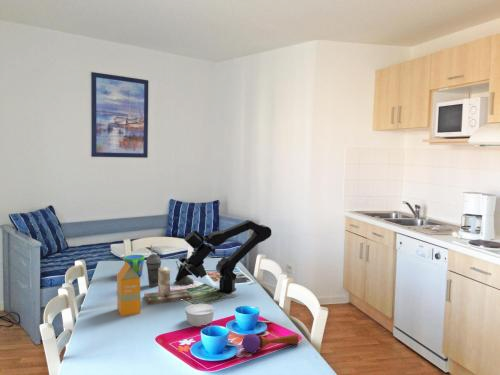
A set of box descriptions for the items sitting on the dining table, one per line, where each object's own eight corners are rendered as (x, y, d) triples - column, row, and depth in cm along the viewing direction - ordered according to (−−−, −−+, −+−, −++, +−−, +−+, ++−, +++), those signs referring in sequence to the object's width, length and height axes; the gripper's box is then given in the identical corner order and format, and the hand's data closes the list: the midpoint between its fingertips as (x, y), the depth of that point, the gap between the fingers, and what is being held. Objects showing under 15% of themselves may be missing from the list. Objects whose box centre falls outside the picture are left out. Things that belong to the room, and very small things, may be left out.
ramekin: (202, 330, 157) (202, 316, 157) (179, 323, 163) (179, 310, 163) (220, 320, 167) (220, 307, 166) (197, 314, 173) (197, 301, 172)
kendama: (302, 336, 144) (247, 341, 137) (298, 351, 146) (244, 357, 138) (294, 326, 150) (241, 330, 142) (291, 341, 151) (238, 346, 143)
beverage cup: (157, 288, 204) (157, 247, 202) (143, 287, 206) (143, 246, 204) (163, 283, 211) (163, 244, 210) (150, 282, 213) (149, 243, 211)
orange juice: (121, 316, 169) (120, 267, 168) (117, 309, 177) (116, 261, 176) (140, 313, 173) (140, 264, 171) (136, 306, 181) (135, 259, 179)
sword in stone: (193, 280, 218) (193, 257, 217) (194, 285, 211) (194, 262, 209) (173, 281, 216) (173, 258, 215) (174, 286, 209) (174, 263, 207)
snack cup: (125, 272, 231) (124, 253, 230) (145, 271, 234) (145, 252, 233) (123, 280, 216) (122, 260, 215) (144, 279, 218) (144, 259, 217)
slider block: (167, 291, 194) (167, 267, 193) (171, 296, 187) (171, 271, 186) (158, 292, 192) (158, 267, 192) (162, 297, 185) (161, 272, 184)
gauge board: (185, 292, 200) (185, 288, 199) (191, 298, 190) (191, 294, 190) (144, 297, 192) (144, 292, 192) (148, 304, 183) (148, 300, 183)
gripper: (218, 271, 190) (193, 298, 186) (205, 261, 207) (183, 285, 203) (201, 255, 186) (176, 282, 183) (190, 246, 203) (167, 271, 200)
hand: (176, 280), depth 192 cm, fingers closed
